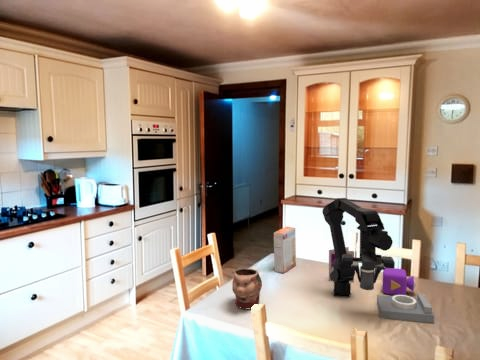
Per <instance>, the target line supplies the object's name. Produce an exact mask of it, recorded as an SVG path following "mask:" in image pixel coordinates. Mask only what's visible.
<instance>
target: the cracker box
mask: <svg viewBox="0 0 480 360" xmlns="http://www.w3.org/2000/svg"><path fill="white" fill-rule="evenodd" d="M296 247H297V246H296V227H292V226H284V227H282V228H280V229H278V230H276V231H275V232H273V259H274V260H273V261H274V263H273V264H274V266H273V267H274V272H275V271H276V273H280V274H285V273H287V272H288V271H289V270H292V269H293V268H294V267H295V266H297V254H296V253H297V249H296Z"/></svg>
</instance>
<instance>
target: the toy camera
mask: <svg viewBox="0 0 480 360" xmlns="http://www.w3.org/2000/svg"><path fill="white" fill-rule="evenodd" d="M416 286H417V282H416V280H415V277H414V275H412V276H409V277H407V271H406V270H405V269H402V268H396V267H395V268H385V270H382V292H383V293H384V294H385V295H391V296H394V295H406V296H407V288H408V289H409V290H410V291H412V292H414V291H415V290H414V289H415V288H416Z"/></svg>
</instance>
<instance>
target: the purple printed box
mask: <svg viewBox="0 0 480 360" xmlns="http://www.w3.org/2000/svg"><path fill="white" fill-rule="evenodd" d="M345 247H346V252H347V254H352V256H353V257H355V251H354V250H349V246H345ZM335 259H336V257H335V252H334V248H333V249H328V282H333V281H332V280H331V279H330V274H331V273H332V271H333V270H334V268H333V265H334V262H335ZM354 281H355V278H354V279H353V281H349V283H354Z"/></svg>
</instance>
